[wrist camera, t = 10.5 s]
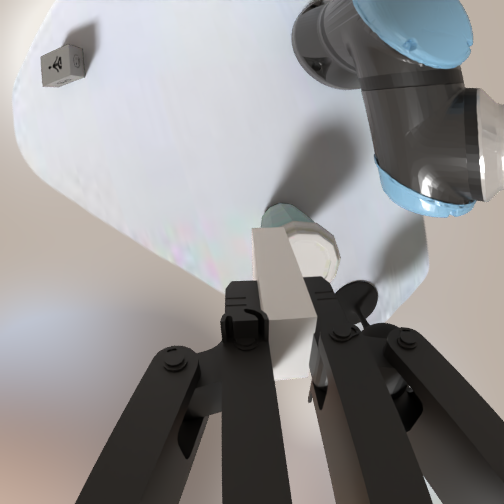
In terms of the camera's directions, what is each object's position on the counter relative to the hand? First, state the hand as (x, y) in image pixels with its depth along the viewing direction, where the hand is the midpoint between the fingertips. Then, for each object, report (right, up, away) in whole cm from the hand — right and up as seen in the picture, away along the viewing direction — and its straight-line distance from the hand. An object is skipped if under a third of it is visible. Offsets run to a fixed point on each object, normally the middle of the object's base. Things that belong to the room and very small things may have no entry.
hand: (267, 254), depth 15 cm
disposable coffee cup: (+4, +5, +34) cm, 34 cm away
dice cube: (-28, +28, +19) cm, 45 cm away
